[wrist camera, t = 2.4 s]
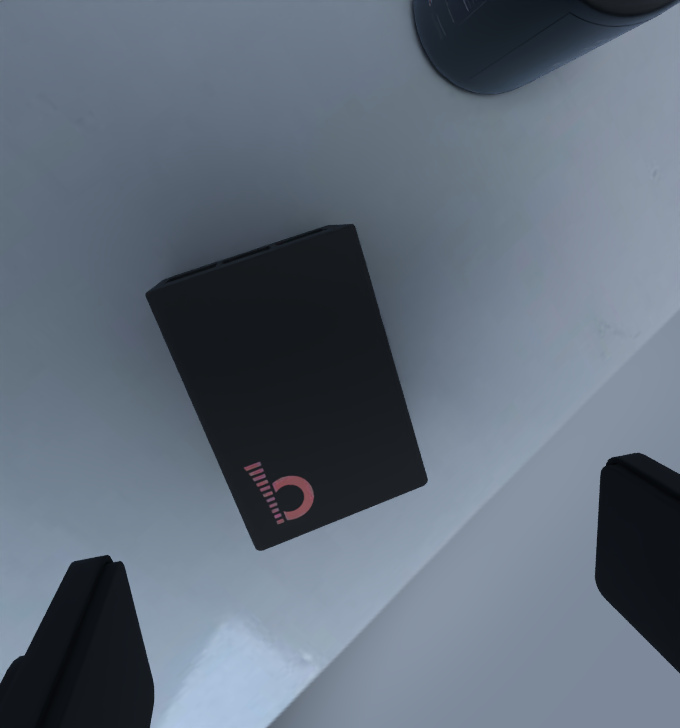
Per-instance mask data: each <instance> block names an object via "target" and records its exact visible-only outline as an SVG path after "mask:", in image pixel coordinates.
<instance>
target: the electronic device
mask: <svg viewBox="0 0 680 728" xmlns="http://www.w3.org/2000/svg"><path fill="white" fill-rule="evenodd" d="M145 295H146V298H147V300H148V303H149V305H150V307H151V310H152V312H153V314H154V316H155V319H156V321H157V323H158V326H159V328H160V330H161V333H162V335H163V337H164V339H165V342H166V344H167V346H168V349H169V351H170V353H171V356H172V358H173V360H174V362H175V365H176V367H177V369H178V372H179V374H180V376H181V378H182V381H183V383H184V385H185V388H186V390H187V392H188V395H189V397H190V399H191V401H192V404H193V406H194V408H195V411H196V413H197V415H198V418H199V420H200V422H201V424H202V427H203V429H204V431H205V434H206V436H207V438H208V441H209V443H210V445H211V447H212V450H213V452H214V454H215V457H216V459H217V461H218V463H219V466H220V468H221V470H222V473H223V475H224V477H225V480H226V482H227V484H228V486H229V489H230V491H231V493H232V496H233V498H234V500H235V503H236V505H237V507H238V509H239V512H240V514H241V516H242V519H243V521H244V523H245V526H246V528H247V530H248V532H249V535H250V537H251V539H252V542H253V544H254V546H255V548H256V549H257V550H259V551H262V550H265V549H268V548H270V547H273V546H275V545H278V544H280V543H283V542H285V541H288V540H290V539H293V538H295V537H298V536H300V535H303V534H305V533H308V532H310V531H313V530H315V529H317V528H320V527H322V526H325V525H327V524H330V523H332V522H335V521H337V520H340V519H342V518H345V517H347V516H350V515H352V514H355V513H357V512H360V511H362V510H365V509H367V508H370V507H372V506H375V505H377V504H379V503H382V502H384V501H387V500H389V499H392V498H394V497H397V496H399V495H402V494H404V493H407V492H409V491H412V490H414V489H417V488H419V487H422V486H424V485H425V484H426V483H427V481H428V479H427V475H426V472H425V468H424V465H423V461H422V458H421V454H420V451H419V447H418V444H417V440H416V437H415V433H414V430H413V426H412V423H411V419H410V416H409V412H408V409H407V405H406V402H405V398H404V395H403V391H402V388H401V384H400V381H399V377H398V374H397V371H396V367H395V364H394V360H393V357H392V353H391V350H390V346H389V343H388V339H387V336H386V332H385V329H384V325H383V322H382V318H381V315H380V311H379V308H378V304H377V301H376V297H375V294H374V290H373V287H372V283H371V280H370V276H369V273H368V269H367V266H366V262H365V259H364V256H363V252H362V249H361V245H360V242H359V238H358V235H357V231H356V228H355V226H354V225H353V224H344V225H328V226H324V227H321V228H318V229H315V230H312V231H309V232H306V233H303V234H300V235H297V236H294V237H291V238H288V239H285V240H282V241H279V242H276V243H273V244H270V245H267V246H264V247H261V248H258V249H255V250H252V251H249V252H245V253H242V254H239V255H236V256H233V257H230V258H227V259H224V260H221V261H218V262H215V263H212V264H209V265H206V266H203V267H200V268H197V269H194V270H191V271H188V272H185V273H182V274H179V275H176V276H173V277H170V278H167V279H164V280H163V281H161V282H160V283H159V284H157V285H156V286H155V287H153V288H152V289H151V290H149V291H148V292H147V293H146V294H145Z"/></svg>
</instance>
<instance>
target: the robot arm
mask: <svg viewBox="0 0 680 728" xmlns="http://www.w3.org/2000/svg"><path fill="white" fill-rule="evenodd" d="M599 494H600V495H599V512H598V530H597V548H596V567H595V580H596V584H597V587H598V589H599V591H600V592H601V594H602V595H603V597H604V598H605V599H606V600H607V601H608V602H609V603H610V604H611V605H612V606H613V607H614V608H615V609H616V610H617V611H618V612H619V613H620V614H621V615H622V616H623V617H624V618H625V619H626V620H627V621H628V622H629V623H630V624H631V625H632V626H633V627H634V628H635V629H636V630H637V631H638V632H639V633H640V634H641V635H642V636H643V637H644V638H645V639H646V640H647V641H648V642H649V643H650V644H651V645H652V646H653V647H654V648H655V649H656V650H657V651H658V652H659V653H660V654H661V655H662V656H663V657H664V658H665V659H666V660H667V661H668V662H669V663H670V664H671V665H672V666H673V667H674V668H675V669H676V670H677V671H678V672H679V673H680V474H678V473H677V472H675V471H673V470H671V469H669V468H667V467H666V466H664V465H662V464H660V463H658V462H656V461H655V460H653V459H651V458H649V457H648V456H646V455H644V454H641V453H633V454H628V455H623V456H618V457H612V458H611V459H609V460H608V462H607V463H606V466H605V467H604V468H603V469H602V470H601V476H600V493H599ZM153 706H154V683H153V678H152V674H151V670H150V666H149V662H148V658H147V654H146V650H145V646H144V642H143V638H142V634H141V630H140V626H139V622H138V618H137V614H136V610H135V606H134V602H133V598H132V594H131V590H130V586H129V582H128V578H127V574H126V570H125V567H124V564H123V563H122V562H121V561H119V562H114V563H113V561H112V559H111V557H110V556H108V555H105V556H100V557H94V558H89V559H84V560H79V561H74V562H72V563H71V565H70V566H69V568H68V570H67V572H66V574H65V576H64V578H63V580H62V582H61V584H60V586H59V588H58V590H57V592H56V594H55V596H54V598H53V600H52V602H51V604H50V606H49V608H48V610H47V612H46V614H45V616H44V618H43V620H42V622H41V624H40V626H39V628H38V630H37V632H36V634H35V636H34V638H33V640H32V642H31V644H30V646H29V648H28V650H27V652H26V654H25V655H24V656H20V657H18V658H17V659H16V660H14V661H13V663H12V664H11V665H10V667H9V668H8V670H7V672H6V674H5V676H4V677H3V679H2V681H1V683H0V728H150V723H151V718H152V712H153Z"/></svg>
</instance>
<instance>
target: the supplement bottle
mask: <svg viewBox="0 0 680 728" xmlns="http://www.w3.org/2000/svg"><path fill="white" fill-rule="evenodd" d="M679 2H680V0H414V16H415V22H416V27H417V31H418V34H419V37H420V40H421V43H422V45H423V47H424V49H425V51H426V53H427V55H428V57H429V58H430V60H431V61H432V63H433V64H434V66H435V67H436V68H437V69H438V70H439V71H440V72H441V73H442V74H443V75H444V76H445V77H446V78H447V79H448V80H450V81H451V82H452V83H454V84H456V85H457V86H459V87H461V88H463V89H466V90H468V91H471V92H476V93H482V94H499V93H504V92H508V91H511V90H514V89H517V88H519V87H521V86H523V85H525V84H527V83H529V82H532V81H534V80H536V79H538V78H540V77H541V76H543V75H545V74H547V73H549V72H551V71H553V70H555V69H557V68H559V67H561V66H563V65H565V64H566V63H568V62H570V61H572V60H574V59H576V58H578V57H580V56H582V55H584V54H586V53H588V52H589V51H591V50H593V49H595V48H597V47H599V46H601V45H603V44H605V43H607V42H609V41H611V40H612V39H614V38H616V37H618V36H620V35H622V34H624V33H626V32H628V31H630V30H632V29H634V28H636V27H637V26H639V25H641V24H643V23H645V22H647V21H649V20H651V19H653V18H655V17H656V16H658V15H660V14H662V13H663V12H665V11H666V10H668V9H670V8H671V7H673V6H674V5H676V4H678V3H679Z"/></svg>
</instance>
